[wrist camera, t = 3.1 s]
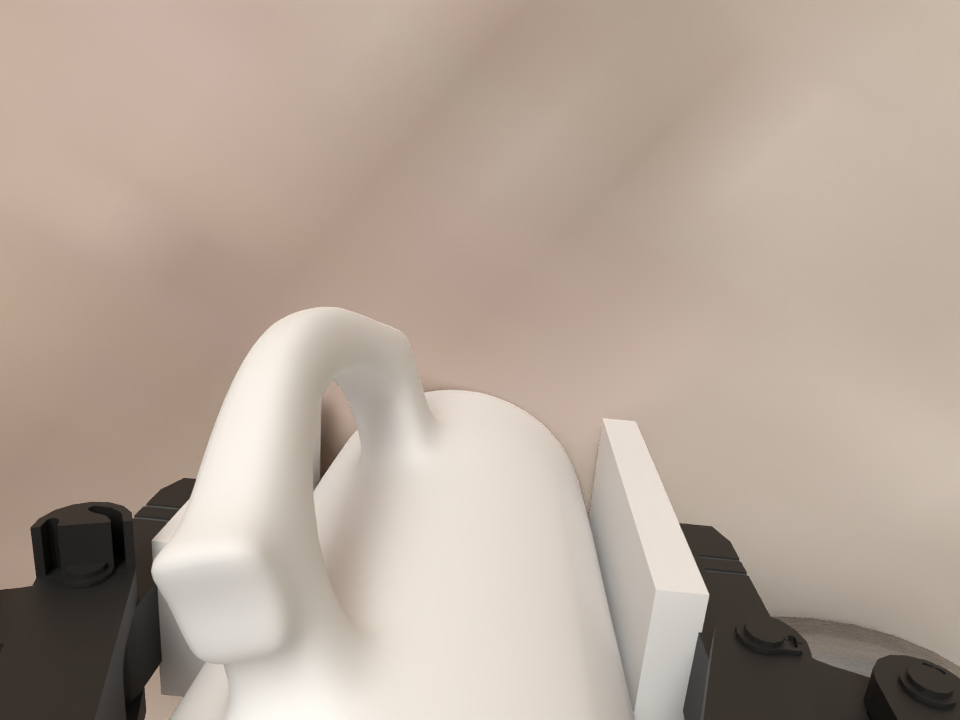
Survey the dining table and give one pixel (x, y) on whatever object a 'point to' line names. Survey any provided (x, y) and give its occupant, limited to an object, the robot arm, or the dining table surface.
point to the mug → (385, 549)
